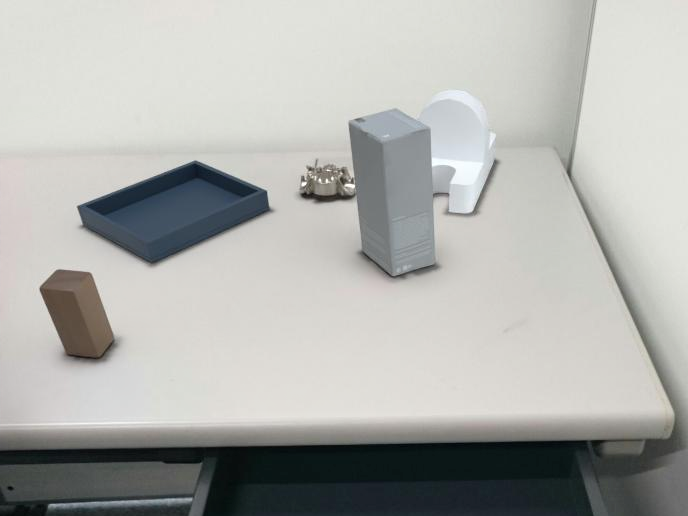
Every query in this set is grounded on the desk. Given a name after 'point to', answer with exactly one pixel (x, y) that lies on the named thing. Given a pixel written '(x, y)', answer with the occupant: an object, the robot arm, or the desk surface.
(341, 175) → the ornament
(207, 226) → the tray
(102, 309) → the wooden block
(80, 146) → the desk surface
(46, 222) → the desk surface
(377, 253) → the cosmetic box
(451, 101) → the bracket
